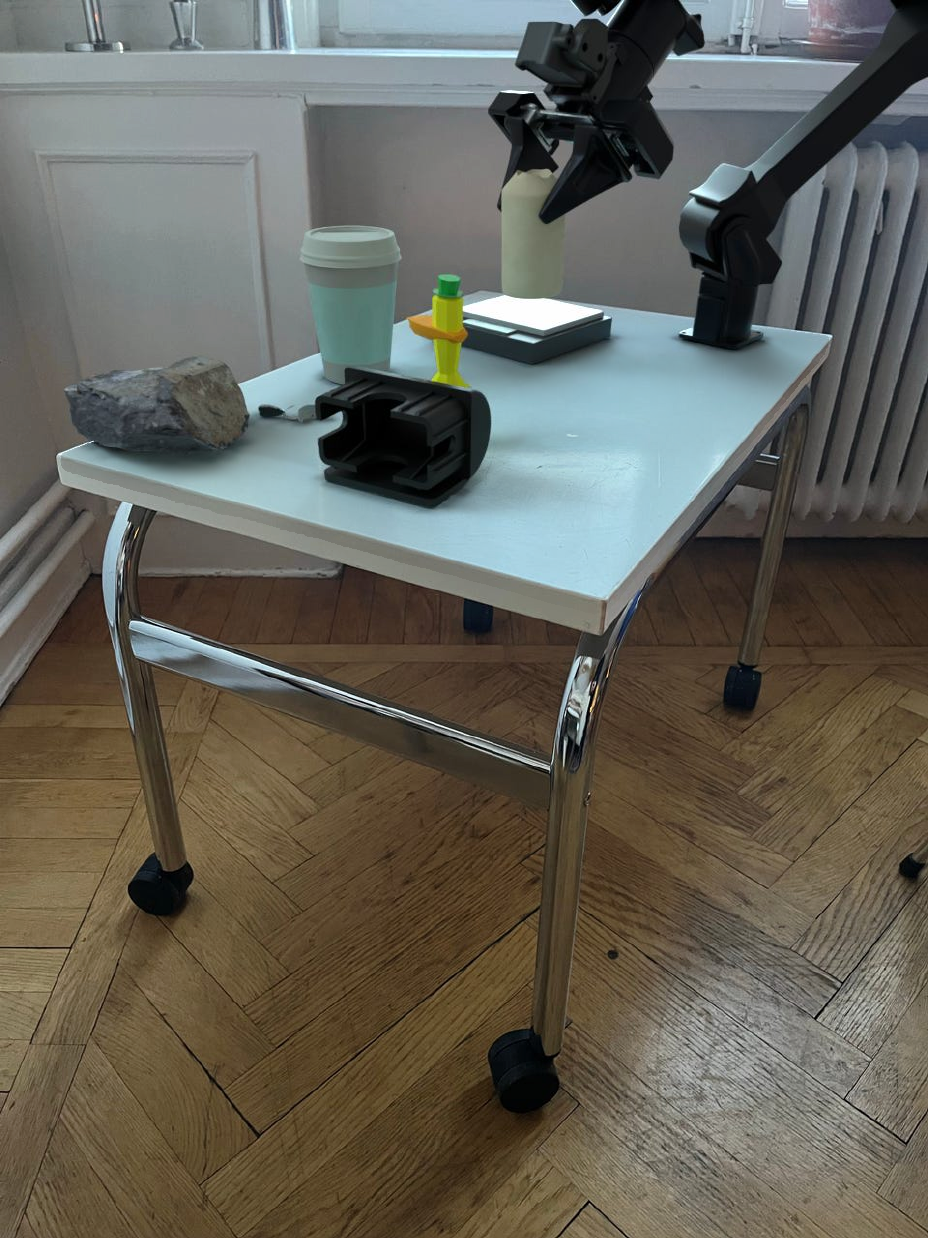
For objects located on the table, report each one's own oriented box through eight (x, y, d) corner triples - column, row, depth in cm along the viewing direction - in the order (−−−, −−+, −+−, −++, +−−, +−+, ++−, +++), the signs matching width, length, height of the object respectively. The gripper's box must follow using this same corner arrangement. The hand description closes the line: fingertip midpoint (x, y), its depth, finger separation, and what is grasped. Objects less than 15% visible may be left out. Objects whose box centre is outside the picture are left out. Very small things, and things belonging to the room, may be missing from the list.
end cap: (491, 473, 64) (494, 378, 60) (439, 511, 59) (439, 410, 55) (373, 445, 68) (369, 355, 65) (315, 479, 63) (307, 382, 59)
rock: (266, 422, 73) (261, 354, 70) (216, 473, 63) (207, 396, 60) (94, 411, 74) (81, 343, 71) (18, 459, 64) (1, 383, 61)
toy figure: (395, 431, 71) (390, 269, 64) (430, 421, 73) (428, 262, 66) (453, 457, 66) (454, 286, 60) (488, 445, 69) (493, 278, 62)
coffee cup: (420, 368, 84) (418, 229, 78) (375, 396, 78) (369, 246, 71) (340, 356, 87) (332, 221, 81) (290, 382, 80) (277, 236, 74)
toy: (224, 428, 72) (227, 417, 73) (325, 422, 72) (327, 411, 74) (221, 413, 71) (224, 403, 73) (323, 407, 71) (325, 397, 73)
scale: (512, 314, 101) (513, 290, 100) (610, 337, 94) (612, 311, 92) (431, 338, 93) (431, 311, 91) (532, 364, 86) (533, 336, 84)
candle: (544, 303, 79) (547, 176, 74) (490, 295, 82) (489, 172, 76) (573, 288, 83) (578, 167, 78) (520, 281, 86) (522, 164, 80)
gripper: (505, -19, 78) (403, 138, 79) (663, -28, 65) (539, 159, 66) (571, 82, 86) (478, 223, 87) (723, 92, 73) (612, 257, 74)
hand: (520, 215), depth 78 cm, fingers closed on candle, 5 cm apart
